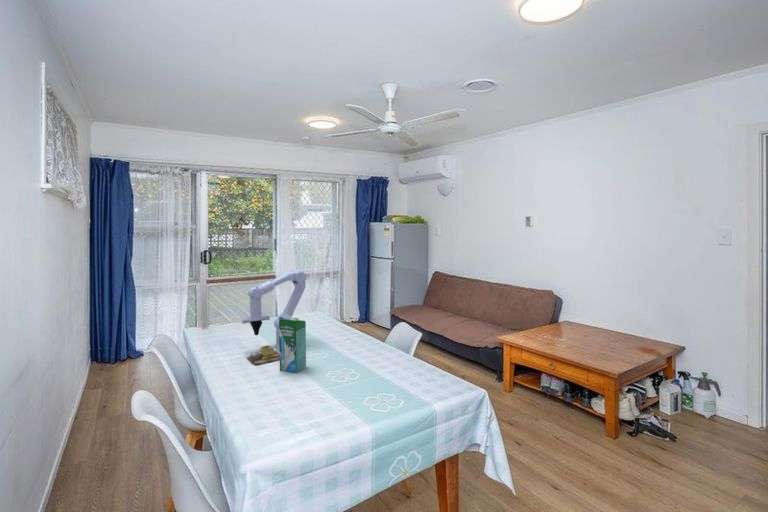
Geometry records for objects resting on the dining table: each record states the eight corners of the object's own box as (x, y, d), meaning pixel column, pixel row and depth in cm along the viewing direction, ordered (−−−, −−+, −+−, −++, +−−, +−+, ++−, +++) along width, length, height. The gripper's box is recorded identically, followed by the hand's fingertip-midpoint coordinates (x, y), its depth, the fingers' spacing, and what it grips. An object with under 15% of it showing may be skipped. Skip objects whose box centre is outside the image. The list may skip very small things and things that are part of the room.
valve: (272, 354, 207) (272, 343, 206) (275, 356, 204) (275, 345, 203) (258, 357, 202) (258, 346, 202) (261, 359, 199) (261, 348, 198)
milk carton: (306, 366, 193) (305, 316, 191) (296, 373, 184) (295, 320, 182) (290, 364, 196) (289, 314, 194) (279, 370, 187) (278, 318, 185)
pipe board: (276, 352, 212) (276, 343, 212) (286, 359, 203) (286, 349, 203) (247, 358, 203) (246, 349, 202) (255, 365, 193) (255, 355, 193)
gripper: (266, 306, 219) (266, 330, 221) (239, 310, 210) (240, 335, 212) (271, 309, 214) (271, 333, 215) (244, 312, 205) (244, 338, 206)
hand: (256, 334), depth 213 cm, fingers closed
